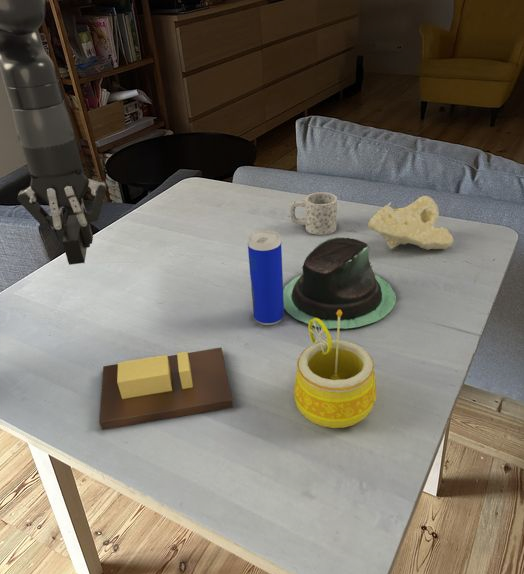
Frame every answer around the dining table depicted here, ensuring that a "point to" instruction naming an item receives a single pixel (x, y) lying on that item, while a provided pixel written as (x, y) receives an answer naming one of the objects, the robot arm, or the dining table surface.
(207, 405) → the board
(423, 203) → the cheese
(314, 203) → the mug
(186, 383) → the butter slice
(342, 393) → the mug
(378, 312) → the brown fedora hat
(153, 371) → the butter block
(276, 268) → the beverage can
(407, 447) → the dining table surface
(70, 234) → the knife
